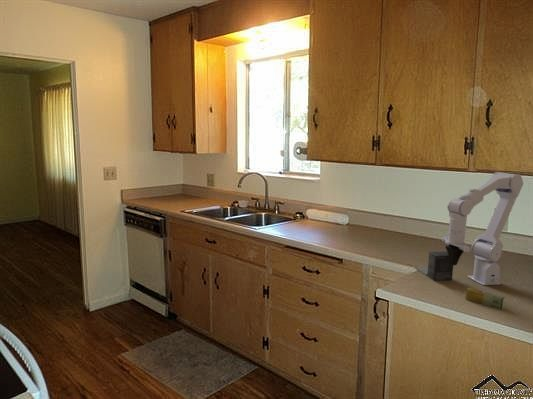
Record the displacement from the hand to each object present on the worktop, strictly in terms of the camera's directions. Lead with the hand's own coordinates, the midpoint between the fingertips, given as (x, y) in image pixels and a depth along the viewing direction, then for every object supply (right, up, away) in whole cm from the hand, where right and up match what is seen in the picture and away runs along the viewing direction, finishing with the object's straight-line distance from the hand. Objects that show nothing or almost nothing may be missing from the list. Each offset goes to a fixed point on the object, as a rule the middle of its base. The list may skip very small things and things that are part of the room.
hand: (453, 264), depth 161 cm
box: (-2, -7, +9) cm, 12 cm away
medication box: (+4, -12, -14) cm, 19 cm away
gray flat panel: (-3, -5, +17) cm, 18 cm away
